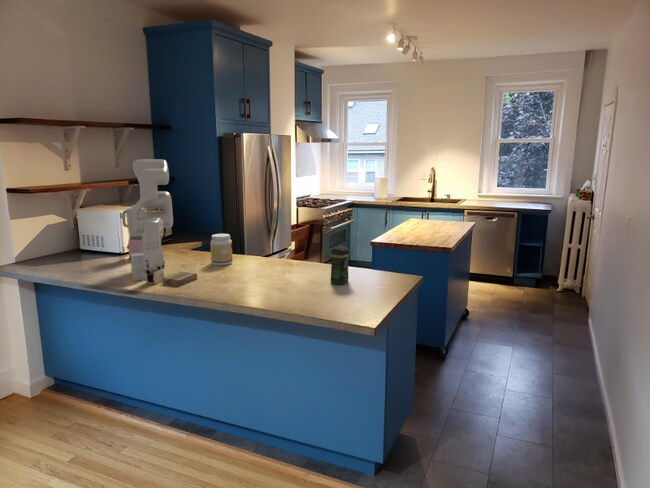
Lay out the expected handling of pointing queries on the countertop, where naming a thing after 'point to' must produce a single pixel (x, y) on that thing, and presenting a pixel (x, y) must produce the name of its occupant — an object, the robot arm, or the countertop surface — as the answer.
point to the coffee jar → (339, 265)
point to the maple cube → (156, 276)
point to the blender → (135, 238)
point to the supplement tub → (221, 249)
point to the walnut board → (179, 278)
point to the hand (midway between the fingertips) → (155, 279)
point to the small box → (137, 266)
